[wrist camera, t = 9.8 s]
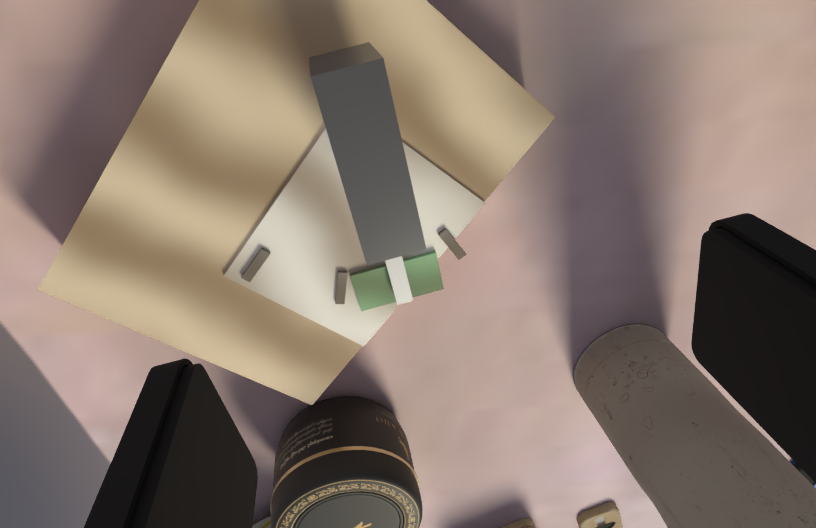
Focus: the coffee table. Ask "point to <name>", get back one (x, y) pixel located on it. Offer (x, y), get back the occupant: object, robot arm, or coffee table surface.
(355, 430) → the jar
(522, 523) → the pile of dominoes
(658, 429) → the thermos bottle
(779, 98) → the coffee table surface
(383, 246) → the peg
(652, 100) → the coffee table surface
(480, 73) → the tan flat box
